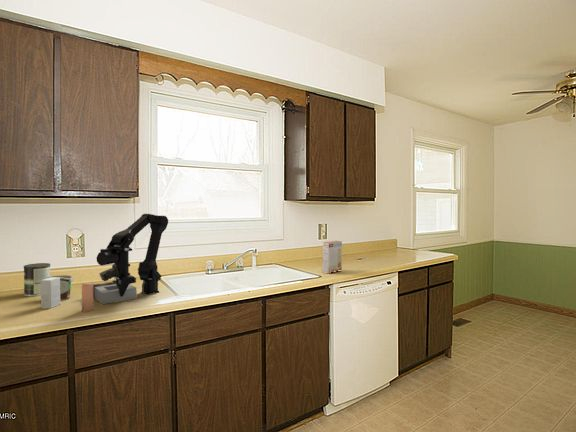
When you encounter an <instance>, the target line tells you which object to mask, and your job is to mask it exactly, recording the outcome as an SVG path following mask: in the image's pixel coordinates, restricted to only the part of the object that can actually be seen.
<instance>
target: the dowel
mask: <svg viewBox="0 0 576 432" xmlns="http://www.w3.org/2000/svg"><path fill="white" fill-rule="evenodd" d="M93 284H94V282H83V283H81V312H84V313H87V312H89V313H90V312H92V311H94V298H93Z"/></svg>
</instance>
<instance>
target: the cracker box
mask: <svg viewBox="0 0 576 432" xmlns="http://www.w3.org/2000/svg"><path fill="white" fill-rule="evenodd" d="M342 245H343V242H342V241H341V240H331V241H323V242H322V273H323V272H327V273H326V274H328V273H330V272H334V271H338V270H343V251H342V249H343V246H342ZM330 274H331V273H330Z"/></svg>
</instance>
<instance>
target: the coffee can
mask: <svg viewBox="0 0 576 432" xmlns="http://www.w3.org/2000/svg"><path fill="white" fill-rule="evenodd" d="M50 276H51V263H48V262H47V263H46V262H39V263H36V262H35V263H28V264H26V265H23V296H25V297H39V296H40V297H41V280H44V278H45V277H50Z"/></svg>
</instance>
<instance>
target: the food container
mask: <svg viewBox="0 0 576 432" xmlns="http://www.w3.org/2000/svg"><path fill="white" fill-rule="evenodd" d="M50 277H60V301H61V300H62V301H63V300H65V301H66V300H67V301H68V300H69V299H70V298H71V288H72V282H73V281H74V279H73V277H72V275H68V274H67V275H66V274H65V275H62V274H61V275H59V274H58V275H52V276H51V275H50ZM50 277H45V278H44V279H47V278H50Z"/></svg>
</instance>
